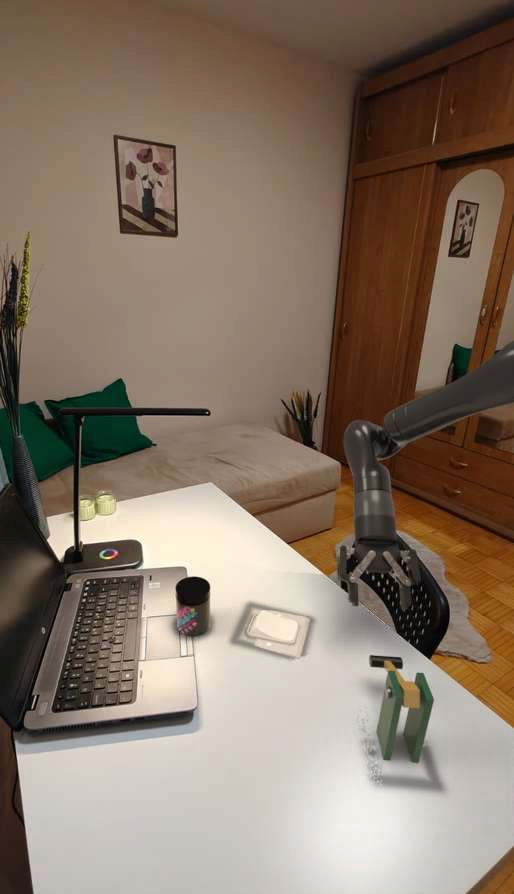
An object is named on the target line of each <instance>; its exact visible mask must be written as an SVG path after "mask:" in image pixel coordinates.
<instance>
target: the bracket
mask: <svg viewBox="0 0 514 894" xmlns="http://www.w3.org/2000/svg"><path fill="white" fill-rule="evenodd" d="M413 682H414V683H415V685H416V686H417V687H418V689H419V690H420V708H407V709H408V710H407V714H406V719H405V724H404V727H403V732H402V735H403V738H404V742H405V745H406V748H407V751H408V754H409V758H410V762H411V763H413V764H414V763H415V764H419V762H420V759H421V755H422V751H423V747H424V742H425V739H426V734H427V731H428V726H429V722H430V718H431V716H432V715H431V714H432V710H433V707H434V703H435V698H434V696H433V693H432V690H431V688H430V685H429V683H428V681H427V679H426V676H425V673H424V672H416V673H415V678H414V681H413ZM384 684H385V685H384V690H383V695H382V700H381V706H380V712H379V717H378V722H377V727H376V735H377V740H378V743H379V748H380V752H381V756H382V760H383V761H389V762H390V761H391V758H392V754H393V749H394V743H395V741H396V740H395V739H396V735H397V732H398V731H397V730H398V726H399V720H400V716H401V712H402V707H403V706H402V702H403V698H404V697H403V694H402V691H401V688H400V685H399V682H398V679H397V676H396V673H395V671H388V672H387V674H386V679H385V683H384Z"/></svg>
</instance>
